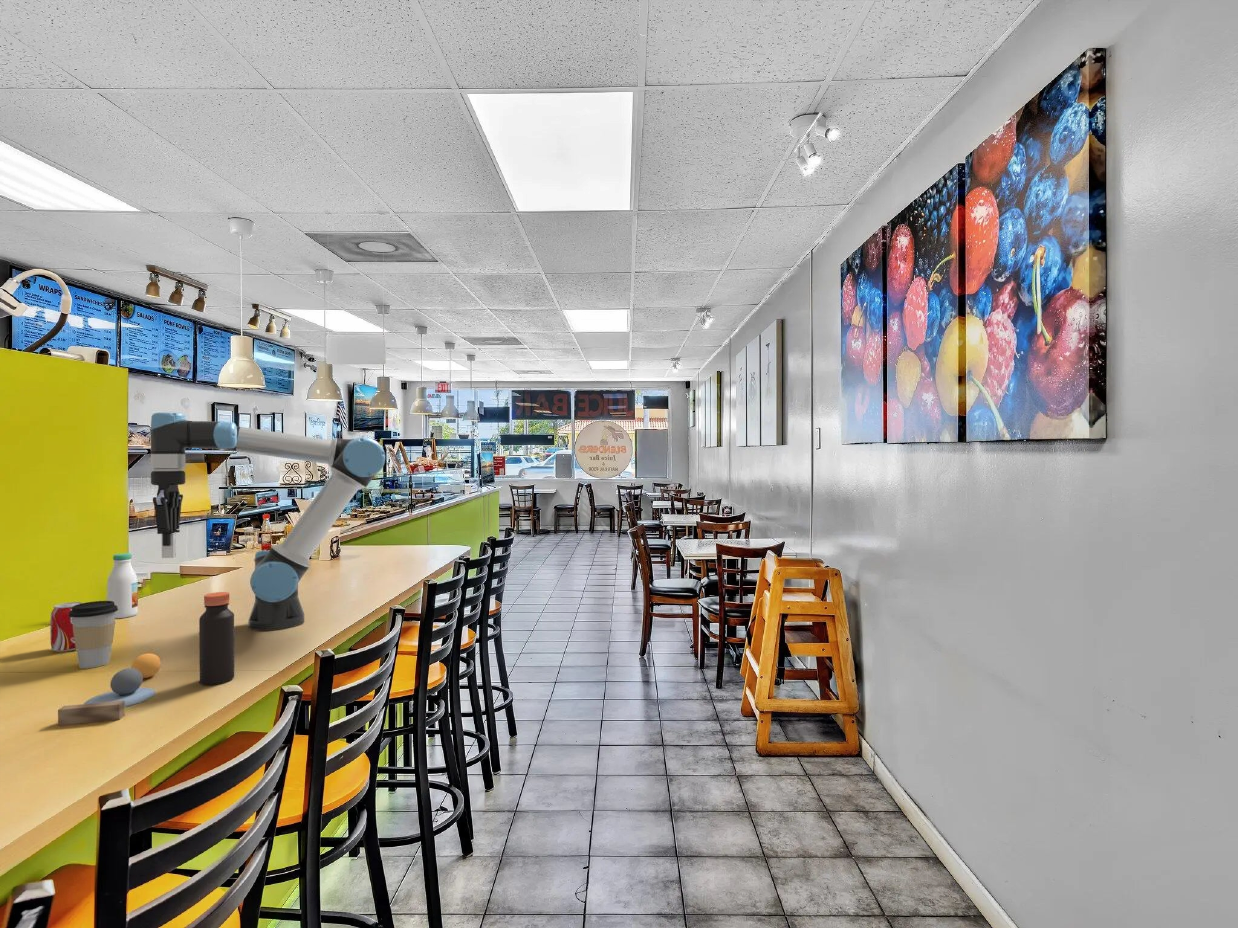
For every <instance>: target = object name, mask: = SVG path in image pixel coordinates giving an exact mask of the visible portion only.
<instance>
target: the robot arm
mask: <svg viewBox="0 0 1238 928" xmlns="http://www.w3.org/2000/svg"><path fill="white" fill-rule="evenodd" d="M185 416H186V415H185V414H184V413H180V412H155V413H152V415H151V419H150V429H149V432H150V433H149V435H150V457H149V459H148V460H149V461H150V468H151V469H152V471H151V472H150V484H151V486H152V485H153V486H157V492H156V496H154V497H152V502H153V506H154V513H155V520H156V521H155V522H156V529H157V532H156V534H157V535H161V559H174V558H176V554H177V553H176V552H177V551H176V548H177V547H176V542H177V541H176V539H177V538H176V537H177V536H176V535H177V534H176V533H180V532H181V530H180V522H181V512H182V503H183V500H184V499H183V498H184V495H183V494H182V493H180V489H179V486H180V485H181V486H182V485H185V484H186V472H185V470H184V469H186V449H211V450H212V449H213V450H222V451H231V452H239V453H245V454H254V455H261V456H268V457H273V458H275V457H276V458H282V459H291V460H298V461H304V462H309V463H310V462H312V463H318V464H325V465H327V466H329V467H330V472H331V475H330V477H329V478H328V479H327V480H326V482H325V483H324V485H323V486H322V487H321V488H320V490H319V491H318V493H317V494H316V496H314V499H313V500H312V501H311V503H310V504H309V506H308V507H307V508H306V509H305V511H304V512H303V513H302V515H301V516H300V518H299V519H298V520H297V521H296V523H295V525H294V526H293V527H292V528H291V530H290V531H289V533H287V536H285V538H284V539H283V541H282V542H281V543H278V544H275V545H274V544H273V545H272V547H271V548H270V549H269V550H258V551H256V552H255V554H254V559H253V560H254V570H253V572H252V574H251V576H250V579H249V580H250V581H249V583H250V588H251V590H252V593H253V594H254V602H253V606H252V609H251V612H250V615H249V618H248V622H247V623H248V624H247V625H248V628H249V629H250V630H252V631H253V630H254V631H274V630H275V631H276V630H283V629H288V628H293V627H296V626H300V625H301V624H303V623H305V611H304V610H303V607H302V604H301V602H300V597H299V582H300V581H301V579H302V578H303V577H304V576H305V574H306V572H307V571H308V570H309V568H310V567H311V564H310V558H311V556H312V555H313V553H314V552H315V551H316V549H317V548H318V547H319V545H320V544H321V542H322V541H323V539H324V538H325V536H326V535H327V534H328V532H329V531H330V530H331V528H332V527H333V525H334V524H335V522H337V520H338V519H339V517H340V516H341V514H342V513H343V512H344V510H345V508H346V507H347V506H348V505H349V503H350V502H351V500H352V499H353V497H354V496H355V495H356V493H357V492H358V491H360V490H364V489H366V488H367V487H368V485H369V484H370V483H371V481H372V479H374V477H375V476H376V474H378V473H379V472H381V470H382V468H384V466H385V463H386V452H385V450H384V448H383V446H382V445H381V444H380V443H379V442H378V441H377V440H376V439H375V440H374V439H373V438H371V437H365V436H361V437H356V438H349V439H347V438H340V437H339V438H338V437H335V438H333V439H331V440H330V439H325V438H324V439H323V438H317V437H313V436H312V437H310V436H304V435H299V434H298V435H297V434H290V433H285V432H279V431H272V430H263V429H258V428H251V427H243V426H237V424H236V423H235V422H233V421H222V420H221V421H216V420H215V421H212V420H211V421H209V420H208V421H205V420H203V421H202V420H201V421H197V420H196V421H195V420H187V419H186V417H185Z"/></svg>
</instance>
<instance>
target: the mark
mask: <svg viewBox="0 0 1238 928" xmlns="http://www.w3.org/2000/svg"><path fill="white" fill-rule="evenodd" d="M155 695H156V690H155V689H153V688H150V687H141V686H140V687H139V688H138V689H137V690H136V691H135V692H133V693H131V694H127V695H119V694H116V693H115V692H113V690H111V691H108V692H105V693H102V694H99V695H96V696H93V697H90V698H89V699H87V700H86V701H85V702H83V704H91V703H102V702H114V701H124V704H125V708H126V707H127V708H128V707H130V706H134V705H136V704H137V705H138V704H140V703H142V702H143V703H144V702H145V701H147V700H149V699H151V698H152V697H154V696H155Z"/></svg>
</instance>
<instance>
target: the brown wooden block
mask: <svg viewBox="0 0 1238 928" xmlns="http://www.w3.org/2000/svg"><path fill="white" fill-rule="evenodd" d="M125 708H126V707H125V704H124V701H114V702H102V703H91V704H84V703H82V704H81V703H80V704H71V705H63V706H62V707H60V708H59V709H58V710H57V726H65V725H66V726H67V725H76V724H86V723H87V724H88V723H98V722H99V723H100V722H109V721H120V720H121V719H123V717H124V716H125Z"/></svg>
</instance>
